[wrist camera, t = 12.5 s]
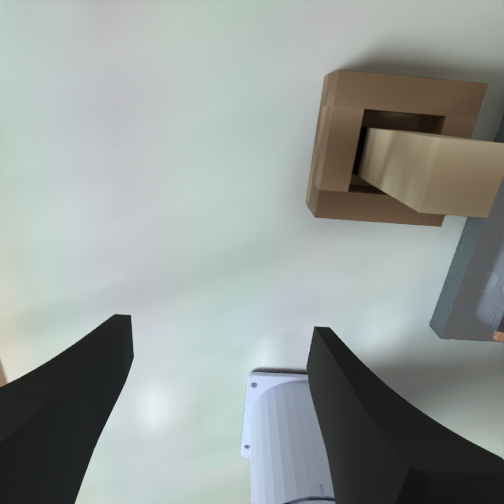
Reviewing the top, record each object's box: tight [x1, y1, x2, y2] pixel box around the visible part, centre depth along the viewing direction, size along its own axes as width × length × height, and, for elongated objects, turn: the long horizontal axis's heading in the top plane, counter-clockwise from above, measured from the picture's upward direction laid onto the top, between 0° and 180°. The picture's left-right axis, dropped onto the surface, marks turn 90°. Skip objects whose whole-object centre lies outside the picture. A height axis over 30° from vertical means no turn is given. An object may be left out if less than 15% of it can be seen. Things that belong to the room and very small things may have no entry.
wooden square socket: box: [306, 70, 487, 227], centre depth 18 cm, size 7×7×3 cm
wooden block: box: [352, 127, 504, 218], centre depth 15 cm, size 2×2×8 cm
